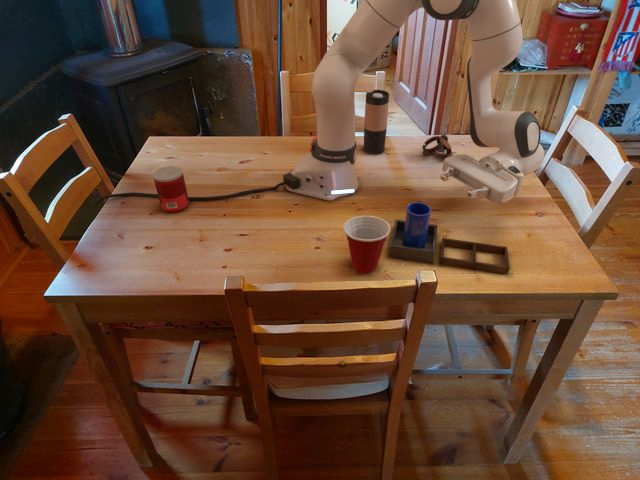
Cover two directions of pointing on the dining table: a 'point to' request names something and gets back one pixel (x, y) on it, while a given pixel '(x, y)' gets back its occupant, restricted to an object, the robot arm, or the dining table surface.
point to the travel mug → (375, 121)
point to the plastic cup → (366, 241)
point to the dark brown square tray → (410, 252)
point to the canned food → (171, 189)
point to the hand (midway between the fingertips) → (455, 185)
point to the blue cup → (416, 225)
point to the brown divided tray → (473, 263)
